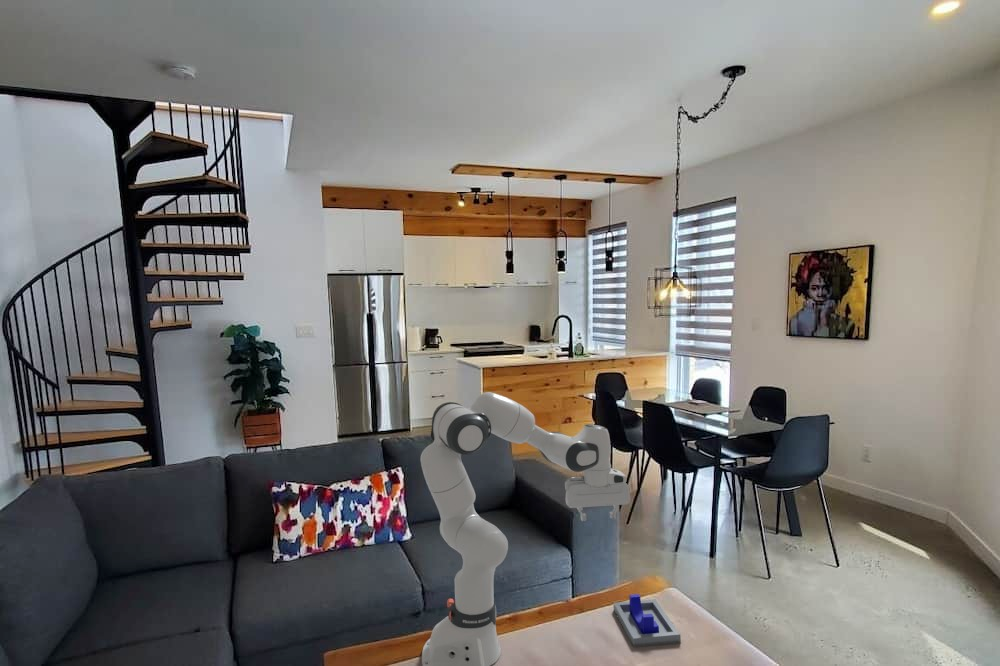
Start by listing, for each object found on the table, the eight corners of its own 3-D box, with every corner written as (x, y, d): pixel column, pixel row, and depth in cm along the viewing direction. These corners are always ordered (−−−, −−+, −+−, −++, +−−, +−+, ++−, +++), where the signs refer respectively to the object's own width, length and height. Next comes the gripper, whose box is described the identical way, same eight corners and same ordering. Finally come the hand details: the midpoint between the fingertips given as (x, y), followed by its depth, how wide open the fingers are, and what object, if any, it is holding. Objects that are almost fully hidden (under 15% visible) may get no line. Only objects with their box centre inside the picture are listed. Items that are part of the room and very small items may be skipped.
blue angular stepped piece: (659, 636, 143) (658, 616, 143) (644, 637, 142) (643, 617, 142) (643, 612, 155) (643, 593, 155) (629, 613, 154) (629, 594, 154)
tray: (633, 647, 140) (633, 638, 139) (613, 610, 157) (613, 602, 157) (680, 642, 141) (680, 634, 141) (655, 607, 159) (655, 599, 159)
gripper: (566, 480, 150) (568, 525, 150) (631, 476, 151) (632, 521, 152) (562, 474, 156) (563, 517, 156) (624, 470, 158) (625, 513, 158)
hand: (598, 519), depth 154 cm, fingers open, 8 cm apart
